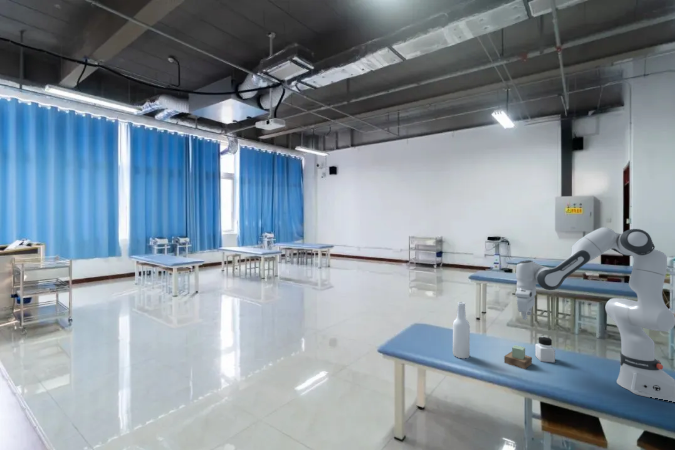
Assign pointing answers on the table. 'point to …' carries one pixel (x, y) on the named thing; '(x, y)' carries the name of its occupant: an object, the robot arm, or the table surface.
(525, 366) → the walnut block
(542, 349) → the medicine bottle
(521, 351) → the sage green block
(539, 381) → the table surface
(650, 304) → the robot arm
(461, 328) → the alcohol
